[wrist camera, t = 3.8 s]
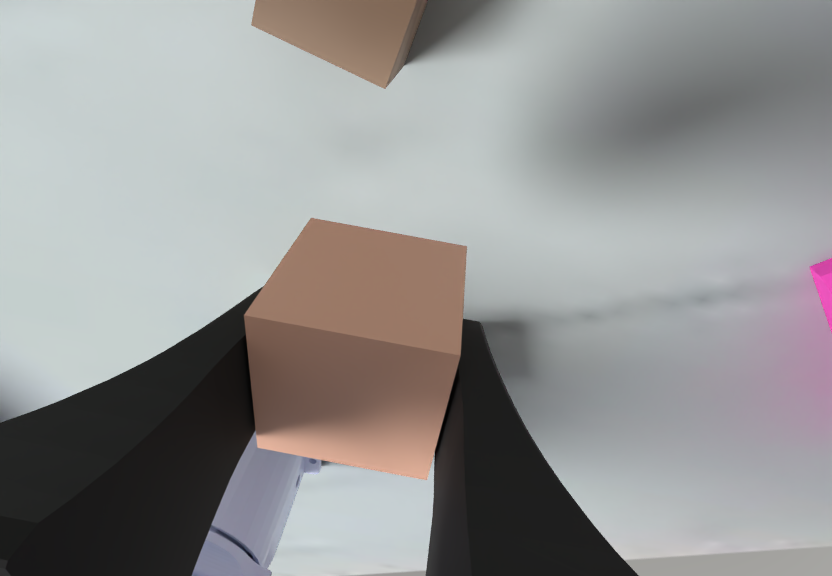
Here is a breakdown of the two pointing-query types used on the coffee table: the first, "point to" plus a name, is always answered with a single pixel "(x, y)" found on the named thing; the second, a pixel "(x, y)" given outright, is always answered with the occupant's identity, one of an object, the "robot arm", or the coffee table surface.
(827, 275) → the bracket
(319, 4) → the walnut cube
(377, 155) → the coffee table surface
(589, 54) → the coffee table surface
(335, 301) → the terracotta cube
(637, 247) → the coffee table surface
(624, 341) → the coffee table surface
